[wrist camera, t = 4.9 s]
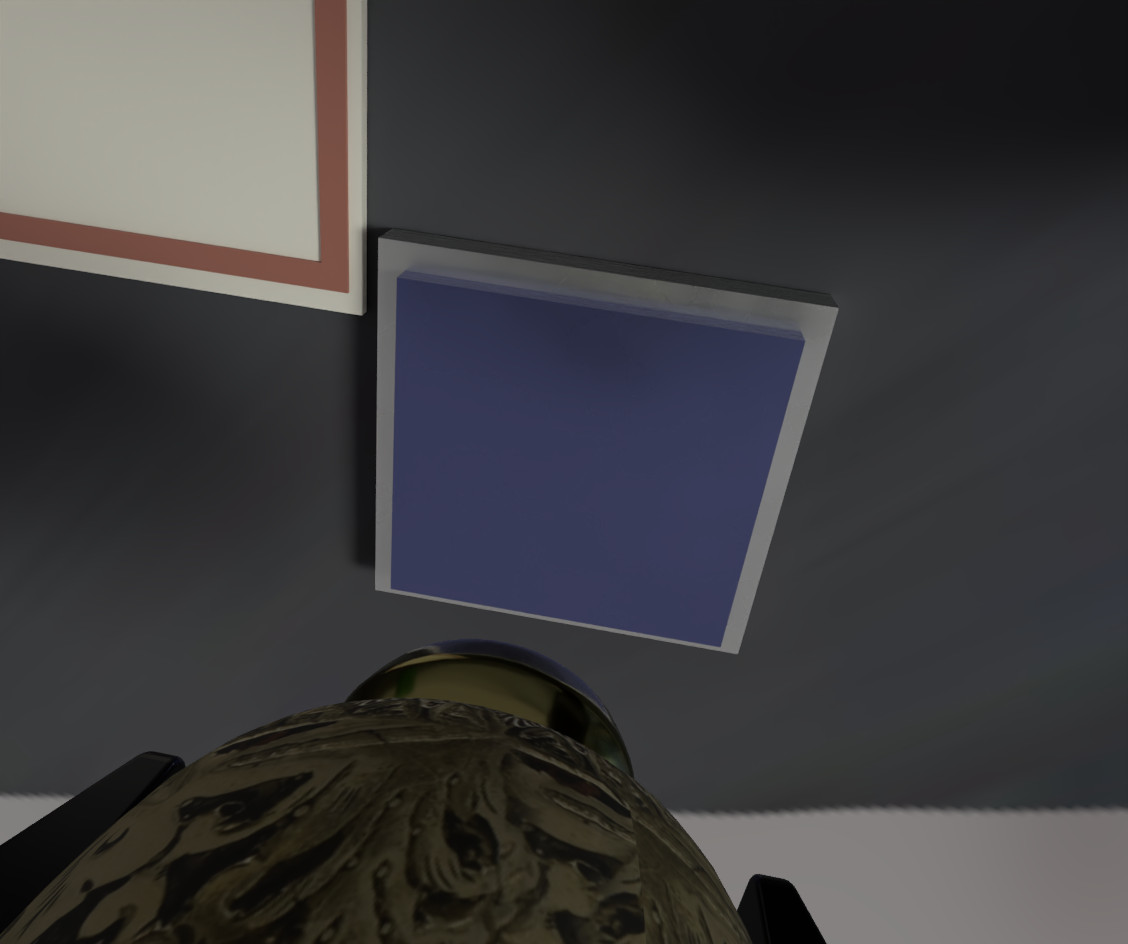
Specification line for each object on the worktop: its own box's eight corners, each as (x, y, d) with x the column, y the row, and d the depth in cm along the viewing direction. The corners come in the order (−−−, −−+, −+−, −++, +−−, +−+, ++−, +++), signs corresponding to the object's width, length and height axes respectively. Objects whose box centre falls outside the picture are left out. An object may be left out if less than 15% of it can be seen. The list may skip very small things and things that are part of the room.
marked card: (367, -247, 14) (359, -255, 14) (366, 311, 19) (360, 316, 18) (-153, -309, 14) (-173, -319, 14) (-24, 250, 19) (-37, 253, 19)
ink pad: (830, 295, 17) (843, 316, 16) (735, 629, 22) (738, 670, 20) (393, 228, 18) (368, 243, 16) (387, 568, 22) (367, 603, 21)
